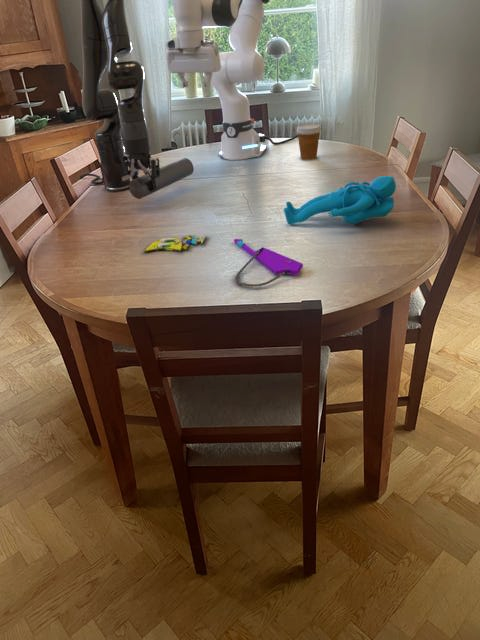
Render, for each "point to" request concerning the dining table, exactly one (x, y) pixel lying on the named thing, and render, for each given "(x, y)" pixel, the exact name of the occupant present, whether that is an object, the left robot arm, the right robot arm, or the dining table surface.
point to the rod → (162, 178)
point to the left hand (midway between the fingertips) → (145, 189)
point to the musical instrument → (269, 262)
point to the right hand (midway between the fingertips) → (196, 87)
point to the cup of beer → (308, 140)
